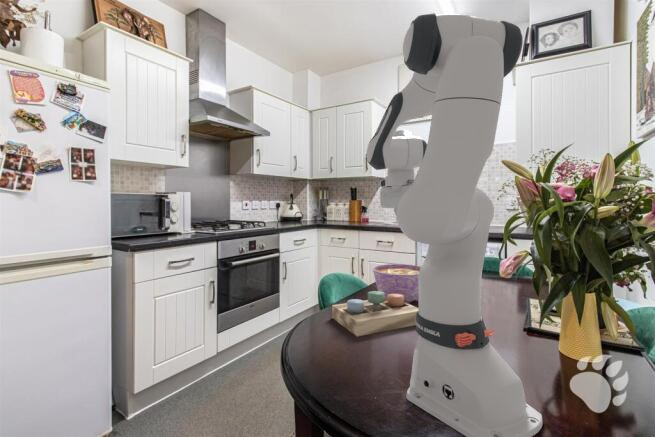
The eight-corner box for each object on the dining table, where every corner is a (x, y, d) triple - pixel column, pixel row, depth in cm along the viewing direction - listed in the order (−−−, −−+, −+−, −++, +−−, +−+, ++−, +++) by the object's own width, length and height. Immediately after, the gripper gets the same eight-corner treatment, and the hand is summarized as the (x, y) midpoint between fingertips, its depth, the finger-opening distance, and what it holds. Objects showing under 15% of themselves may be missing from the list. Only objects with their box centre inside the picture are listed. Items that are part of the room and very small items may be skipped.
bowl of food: (409, 291, 132) (409, 262, 132) (441, 305, 113) (441, 272, 113) (363, 296, 126) (363, 266, 126) (389, 312, 107) (389, 276, 107)
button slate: (367, 322, 95) (367, 302, 95) (352, 325, 93) (352, 305, 93) (359, 317, 100) (359, 298, 100) (344, 320, 98) (344, 300, 98)
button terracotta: (407, 315, 101) (407, 296, 101) (393, 318, 99) (393, 298, 99) (397, 311, 105) (397, 292, 105) (384, 313, 103) (384, 294, 103)
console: (423, 323, 96) (423, 310, 96) (357, 336, 88) (356, 321, 88) (391, 308, 111) (391, 296, 111) (332, 317, 102) (332, 305, 102)
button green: (387, 313, 98) (387, 294, 98) (373, 316, 96) (373, 296, 96) (378, 309, 103) (378, 290, 102) (364, 311, 101) (364, 292, 100)
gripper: (429, 178, 103) (429, 222, 103) (391, 182, 121) (391, 220, 122) (412, 178, 100) (413, 223, 101) (376, 182, 119) (377, 220, 119)
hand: (401, 221), depth 111 cm, fingers closed
